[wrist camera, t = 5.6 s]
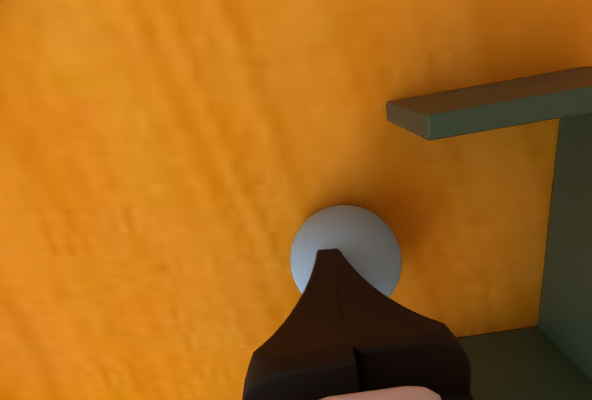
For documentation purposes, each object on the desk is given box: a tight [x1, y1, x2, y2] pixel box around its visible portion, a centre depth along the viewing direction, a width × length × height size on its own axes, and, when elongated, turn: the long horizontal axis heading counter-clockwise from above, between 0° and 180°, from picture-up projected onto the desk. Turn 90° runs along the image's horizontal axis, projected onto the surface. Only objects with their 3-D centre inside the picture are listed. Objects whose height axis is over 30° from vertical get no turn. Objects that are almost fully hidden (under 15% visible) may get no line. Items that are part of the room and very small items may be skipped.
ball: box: [290, 205, 402, 298], centre depth 16 cm, size 5×5×5 cm
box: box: [386, 67, 592, 400], centre depth 14 cm, size 14×8×5 cm, turn 10°
